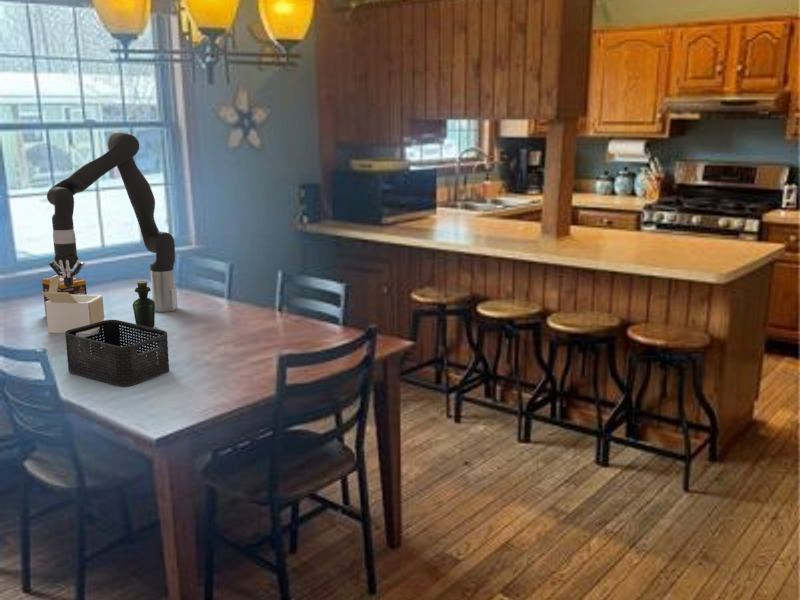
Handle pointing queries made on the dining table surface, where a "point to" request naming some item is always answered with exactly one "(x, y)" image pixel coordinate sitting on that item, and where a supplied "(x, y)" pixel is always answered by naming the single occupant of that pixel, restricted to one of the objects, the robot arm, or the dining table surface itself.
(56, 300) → the long flap
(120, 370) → the storage bin
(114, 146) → the robot arm
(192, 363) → the dining table surface
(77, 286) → the supplement box
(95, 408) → the dining table surface
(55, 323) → the carton
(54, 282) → the short flap
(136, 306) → the potion bottle
